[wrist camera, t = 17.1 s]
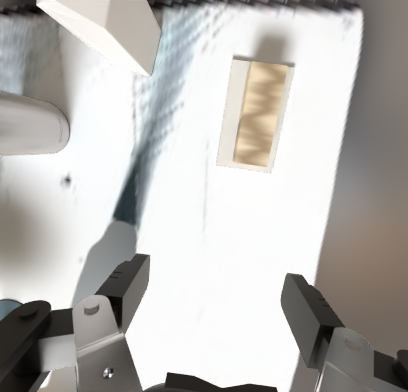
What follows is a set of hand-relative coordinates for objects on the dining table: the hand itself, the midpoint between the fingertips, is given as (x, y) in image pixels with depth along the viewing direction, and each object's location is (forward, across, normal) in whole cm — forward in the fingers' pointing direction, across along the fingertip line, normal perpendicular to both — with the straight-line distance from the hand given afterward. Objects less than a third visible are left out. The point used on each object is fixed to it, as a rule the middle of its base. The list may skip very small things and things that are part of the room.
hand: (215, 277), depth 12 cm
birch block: (+24, -5, -5) cm, 25 cm away
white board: (+28, -5, -12) cm, 31 cm away
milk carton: (+28, +16, -22) cm, 39 cm away
